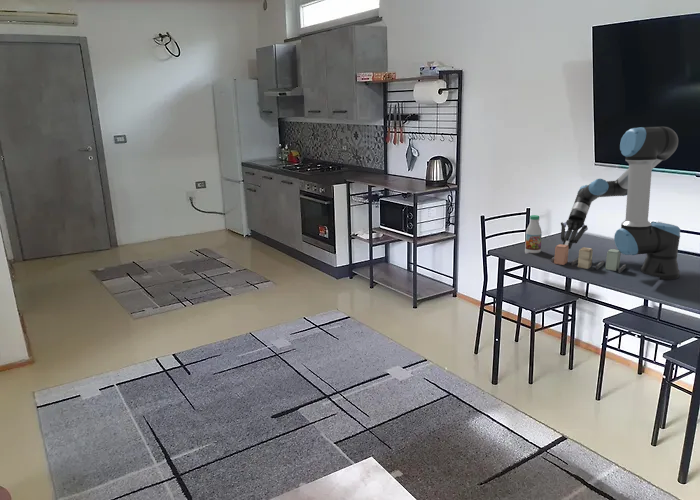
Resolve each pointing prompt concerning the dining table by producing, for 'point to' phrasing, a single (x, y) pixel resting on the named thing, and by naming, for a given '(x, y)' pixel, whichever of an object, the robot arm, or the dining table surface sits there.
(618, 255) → the sage green block
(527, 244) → the milk bottle
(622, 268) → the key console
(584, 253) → the birch key
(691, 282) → the dining table surface
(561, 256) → the salmon pink block
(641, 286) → the dining table surface
